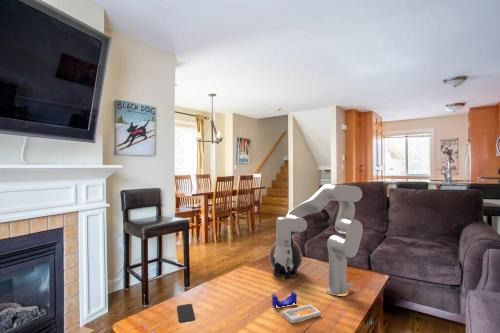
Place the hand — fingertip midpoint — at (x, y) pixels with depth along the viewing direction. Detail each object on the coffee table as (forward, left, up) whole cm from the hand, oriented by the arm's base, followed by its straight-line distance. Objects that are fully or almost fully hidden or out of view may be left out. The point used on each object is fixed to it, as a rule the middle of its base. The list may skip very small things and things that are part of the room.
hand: (282, 275), depth 142 cm
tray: (-3, +13, -15) cm, 20 cm away
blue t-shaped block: (0, +1, -15) cm, 15 cm away
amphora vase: (-24, -34, -15) cm, 44 cm away
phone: (+46, -12, -15) cm, 50 cm away
